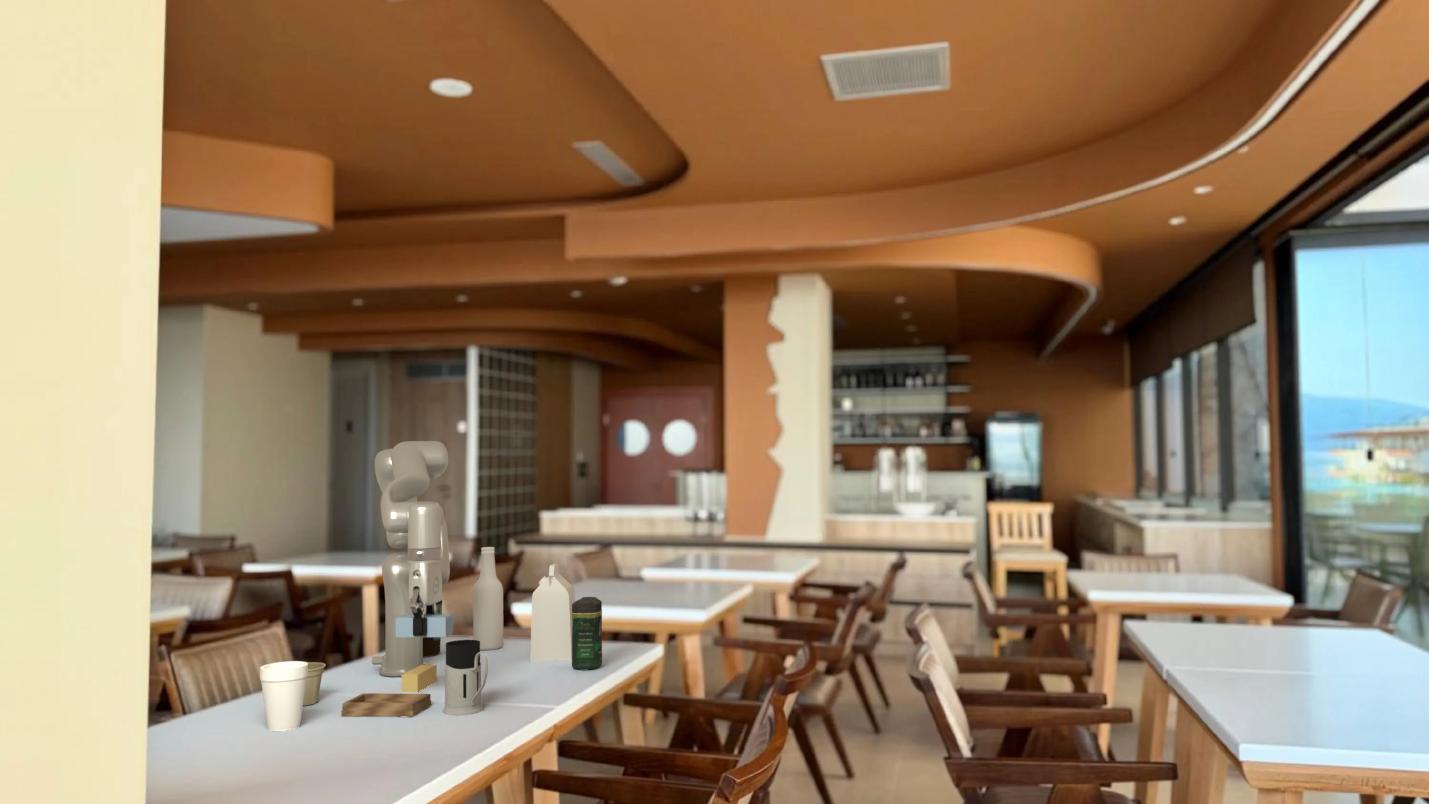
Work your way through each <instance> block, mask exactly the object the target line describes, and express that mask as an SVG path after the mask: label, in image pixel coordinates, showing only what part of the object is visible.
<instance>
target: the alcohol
mask: <svg viewBox="0 0 1429 804" xmlns="http://www.w3.org/2000/svg"><path fill="white" fill-rule="evenodd" d="M495 549H496V548H495V547H494V546H484V547H481V548H480V550H481V552H480V554H481V557H480V558H481V560H480V572H479V577H478V580H477V581H476V582H475V584H474V585H473V589H472V610H473V611H472V622H473V623H472V626H473V627H472V629H473V631H472V637H473V638H472V640H478V641H480V651H494V650H500V649H502V647H503V646H504V587H503V584H502V583H501V581H500V580H499V579H498V576H497V571H496V559H495V553H496V552H495Z"/></svg>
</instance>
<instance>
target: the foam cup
mask: <svg viewBox="0 0 1429 804" xmlns="http://www.w3.org/2000/svg"><path fill="white" fill-rule="evenodd" d="M308 663H309V662H307V661H300V660H299V661H298V660H293V661H291V660H289V661H278V662H271V663H266V664H264V665H261V666H260V668H259V680H260V682H261V690H262V697H263V705H264V714H265V719H266V728H267V731H268V730H270V731H269V732H272V731H282V732H287V731H286V730H289V731H292V730H291V729H293V730H296V729H295V728H297V727H299V726H301V722H302V714H303V707H304V706H303V699H304V692H305V685H306V677H307V676H308ZM299 728H300V727H299ZM297 729H298V728H297Z"/></svg>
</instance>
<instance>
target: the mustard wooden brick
mask: <svg viewBox="0 0 1429 804" xmlns="http://www.w3.org/2000/svg"><path fill="white" fill-rule="evenodd" d="M437 672H438V671H437V664H426V665H420V666H418V667H416V668H414V669H412V670H410V671H408V672H406V673H404V674H402V676H401V693H402V692H418V693H419V691H420V690H422V689H423V690H425V689H427V688H428V687H427V686H429V685H430V686H432V685H434V684H436V683H437V682H438V681H437V680H438V678H437V677H438V676H437V675H438V674H437ZM436 681H437V682H436ZM435 682H436V683H435ZM433 683H434V684H433ZM431 684H432V685H431ZM430 686H429V687H430ZM426 687H427V688H426ZM424 688H425V689H424ZM423 690H422V691H423ZM420 692H421V691H420Z"/></svg>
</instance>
